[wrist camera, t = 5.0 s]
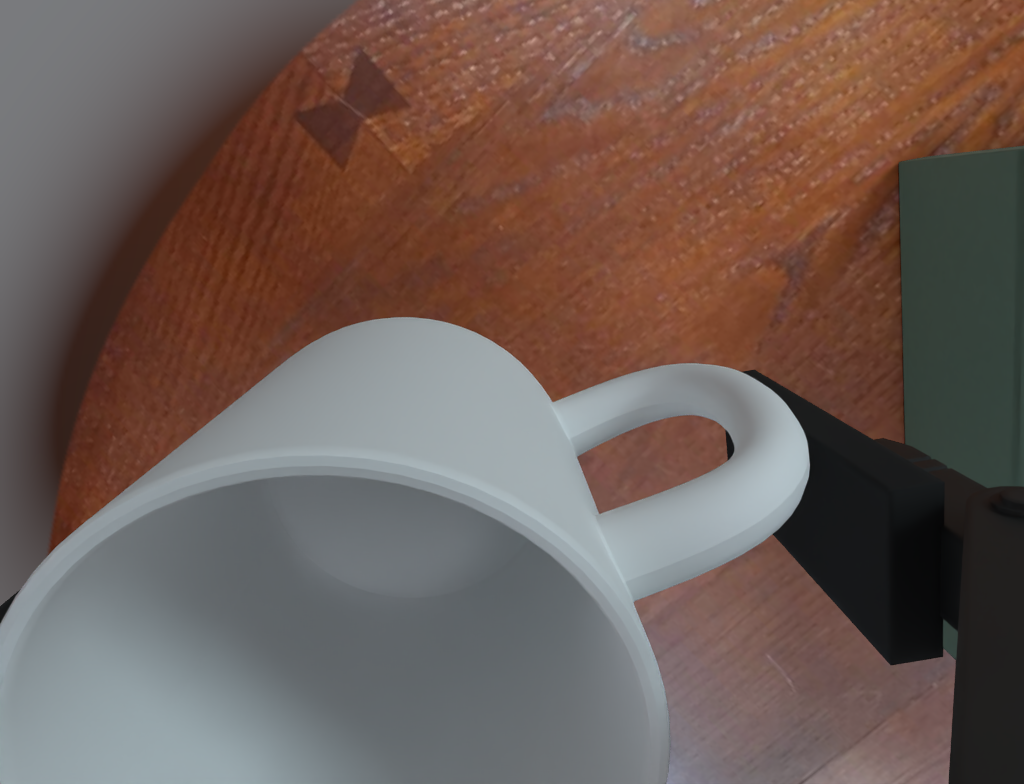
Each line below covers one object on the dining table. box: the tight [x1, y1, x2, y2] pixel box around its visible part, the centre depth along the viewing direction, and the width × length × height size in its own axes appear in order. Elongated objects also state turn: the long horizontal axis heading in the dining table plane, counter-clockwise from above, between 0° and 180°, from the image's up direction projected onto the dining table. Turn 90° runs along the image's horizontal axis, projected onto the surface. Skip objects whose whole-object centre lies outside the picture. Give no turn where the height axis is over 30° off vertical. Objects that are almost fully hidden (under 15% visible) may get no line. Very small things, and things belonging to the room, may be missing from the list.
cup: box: [0, 317, 810, 784], centre depth 13 cm, size 8×12×10 cm
